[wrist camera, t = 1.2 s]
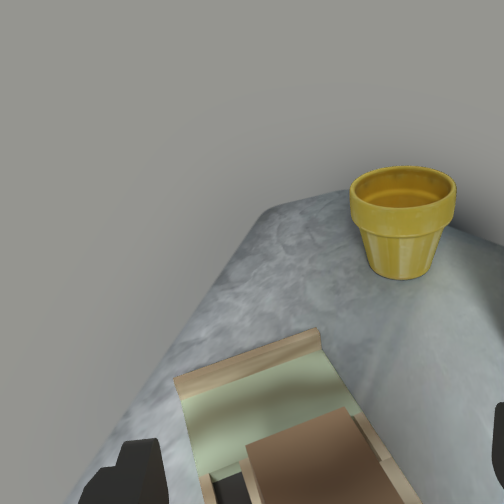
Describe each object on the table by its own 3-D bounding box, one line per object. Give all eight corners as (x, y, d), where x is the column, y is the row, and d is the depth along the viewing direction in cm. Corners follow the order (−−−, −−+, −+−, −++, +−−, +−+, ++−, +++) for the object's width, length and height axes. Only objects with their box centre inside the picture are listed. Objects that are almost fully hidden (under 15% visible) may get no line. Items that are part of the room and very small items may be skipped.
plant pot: (389, 229, 57) (390, 156, 52) (467, 257, 50) (477, 177, 45) (334, 267, 53) (328, 191, 47) (411, 304, 45) (415, 221, 40)
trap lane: (471, 593, 25) (478, 566, 23) (254, 703, 23) (242, 682, 21) (319, 355, 42) (316, 327, 40) (183, 404, 39) (173, 378, 38)
